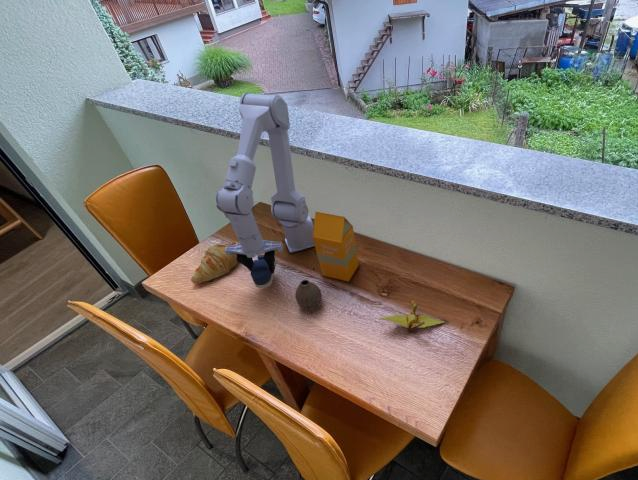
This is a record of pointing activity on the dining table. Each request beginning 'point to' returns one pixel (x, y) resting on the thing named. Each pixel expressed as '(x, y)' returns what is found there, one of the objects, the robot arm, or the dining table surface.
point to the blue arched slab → (262, 272)
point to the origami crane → (413, 319)
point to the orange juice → (335, 246)
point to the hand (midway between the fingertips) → (264, 271)
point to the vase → (308, 295)
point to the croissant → (215, 263)
